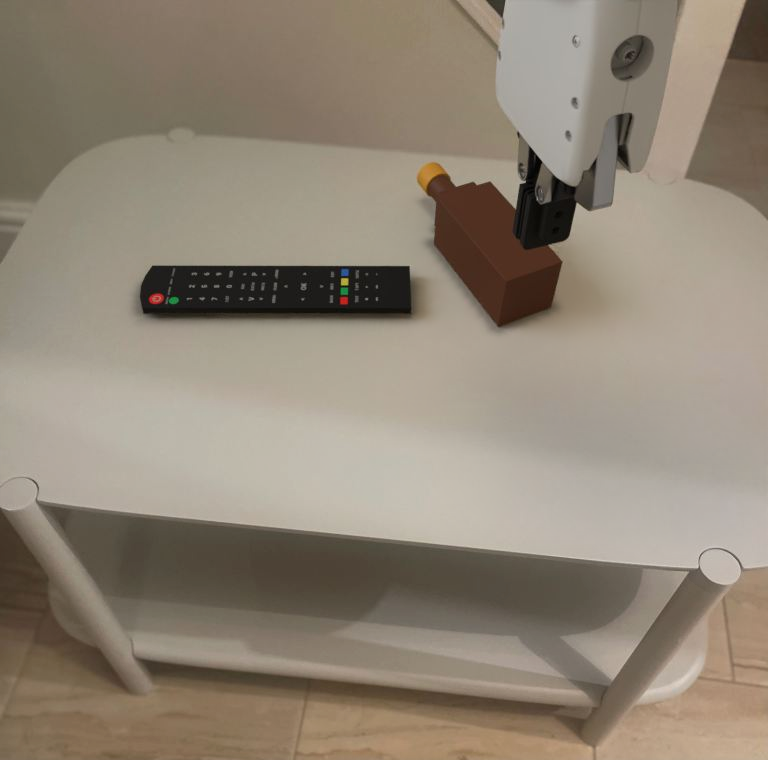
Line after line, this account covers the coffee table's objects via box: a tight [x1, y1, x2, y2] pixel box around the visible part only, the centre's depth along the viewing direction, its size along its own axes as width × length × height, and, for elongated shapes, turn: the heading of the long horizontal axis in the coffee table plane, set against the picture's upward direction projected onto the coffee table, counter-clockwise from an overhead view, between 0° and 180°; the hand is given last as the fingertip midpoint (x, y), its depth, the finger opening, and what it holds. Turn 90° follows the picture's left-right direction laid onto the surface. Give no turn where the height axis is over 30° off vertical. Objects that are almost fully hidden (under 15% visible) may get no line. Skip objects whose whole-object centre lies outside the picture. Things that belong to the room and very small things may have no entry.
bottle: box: [416, 161, 564, 328], centre depth 73 cm, size 6×6×18 cm
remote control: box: [139, 265, 412, 315], centre depth 71 cm, size 5×24×1 cm, turn 91°
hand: (540, 237), depth 50 cm, fingers closed
